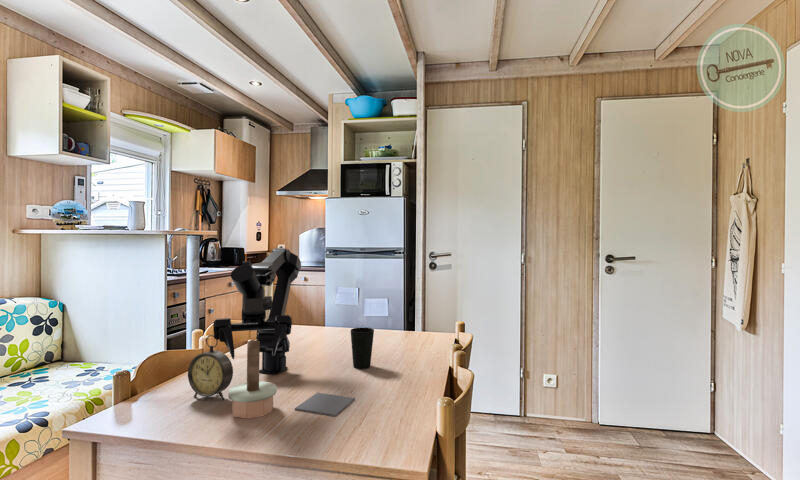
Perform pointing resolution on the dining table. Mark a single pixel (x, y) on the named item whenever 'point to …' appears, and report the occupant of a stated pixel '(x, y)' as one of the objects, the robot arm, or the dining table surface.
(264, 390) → the wooden peg on disc
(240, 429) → the dining table surface
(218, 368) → the alarm clock
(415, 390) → the dining table surface
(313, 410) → the mat
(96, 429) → the dining table surface
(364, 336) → the cup
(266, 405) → the bowl
